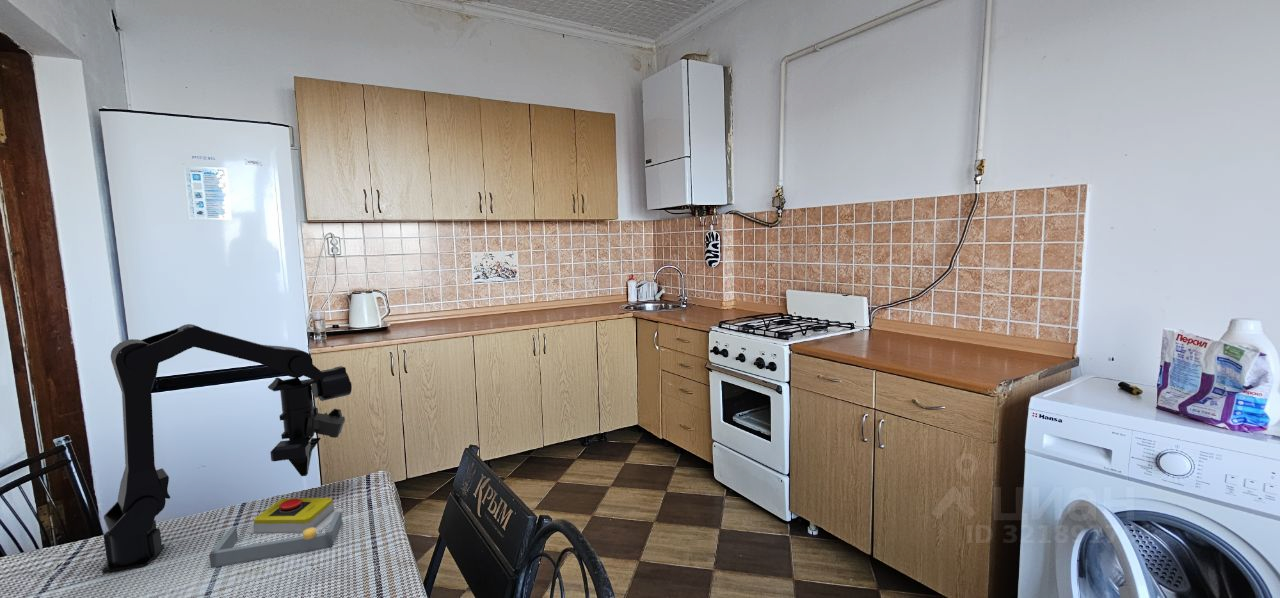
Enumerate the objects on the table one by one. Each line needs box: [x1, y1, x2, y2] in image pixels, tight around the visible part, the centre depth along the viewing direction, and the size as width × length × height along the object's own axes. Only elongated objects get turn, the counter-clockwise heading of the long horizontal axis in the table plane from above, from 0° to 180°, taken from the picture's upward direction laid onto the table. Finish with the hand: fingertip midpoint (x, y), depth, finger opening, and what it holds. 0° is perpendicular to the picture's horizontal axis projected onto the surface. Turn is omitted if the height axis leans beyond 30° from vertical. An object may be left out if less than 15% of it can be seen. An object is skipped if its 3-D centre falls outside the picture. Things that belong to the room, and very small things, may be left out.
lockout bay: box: [208, 511, 343, 568], centre depth 103 cm, size 19×10×4 cm, turn 107°
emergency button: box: [246, 497, 345, 535], centre depth 111 cm, size 9×4×15 cm
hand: (304, 475), depth 119 cm, fingers closed
